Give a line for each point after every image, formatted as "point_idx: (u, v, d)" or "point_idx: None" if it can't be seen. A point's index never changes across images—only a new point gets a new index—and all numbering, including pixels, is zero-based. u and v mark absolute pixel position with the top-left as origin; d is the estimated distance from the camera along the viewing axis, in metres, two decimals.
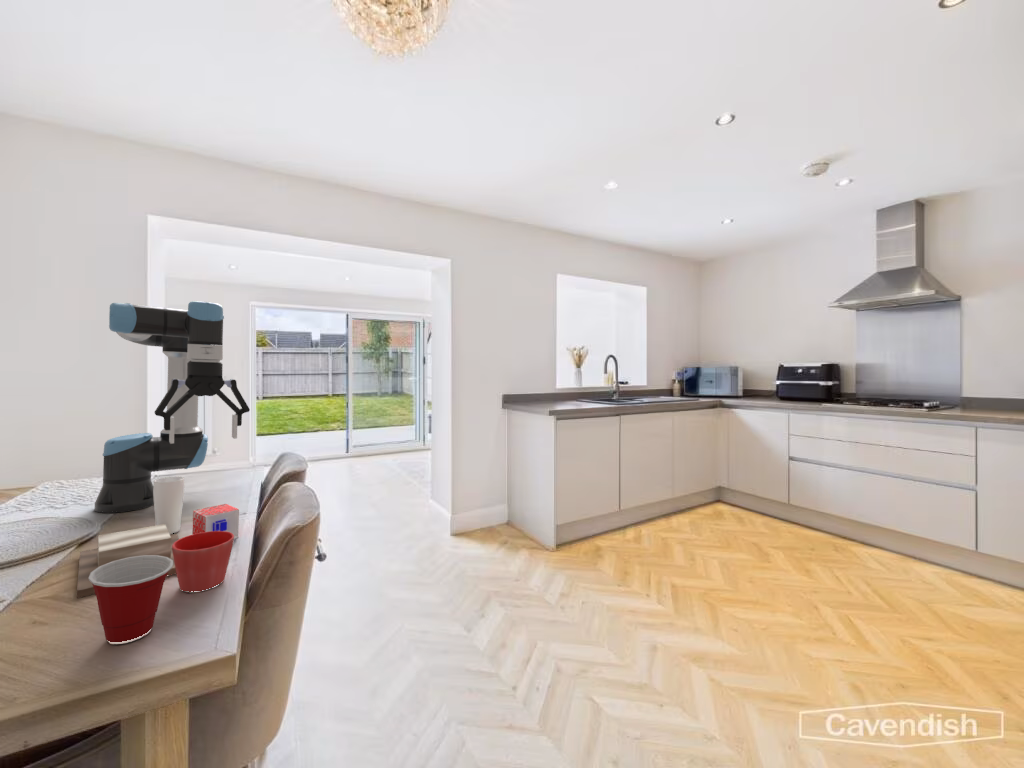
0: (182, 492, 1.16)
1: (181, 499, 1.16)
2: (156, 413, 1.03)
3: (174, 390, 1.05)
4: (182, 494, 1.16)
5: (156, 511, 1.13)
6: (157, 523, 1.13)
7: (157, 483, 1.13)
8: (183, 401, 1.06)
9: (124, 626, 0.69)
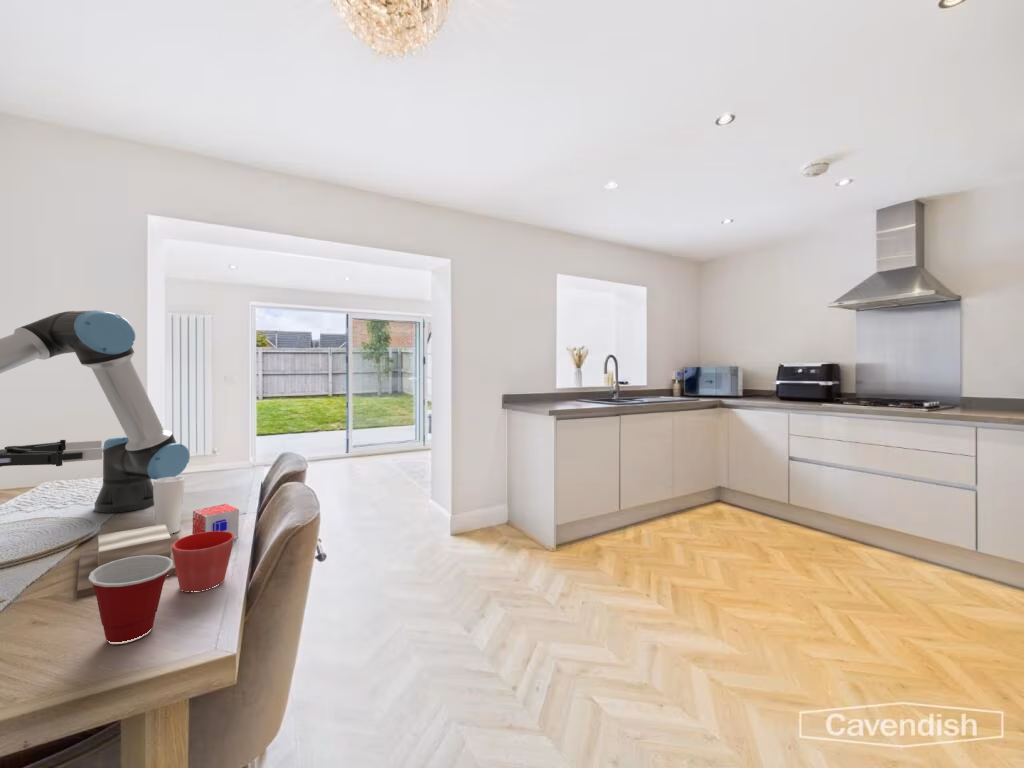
0: (182, 492, 1.16)
1: (181, 499, 1.16)
2: None
3: None
4: (182, 494, 1.16)
5: (156, 511, 1.13)
6: (157, 523, 1.13)
7: (157, 483, 1.13)
8: None
9: (124, 626, 0.69)
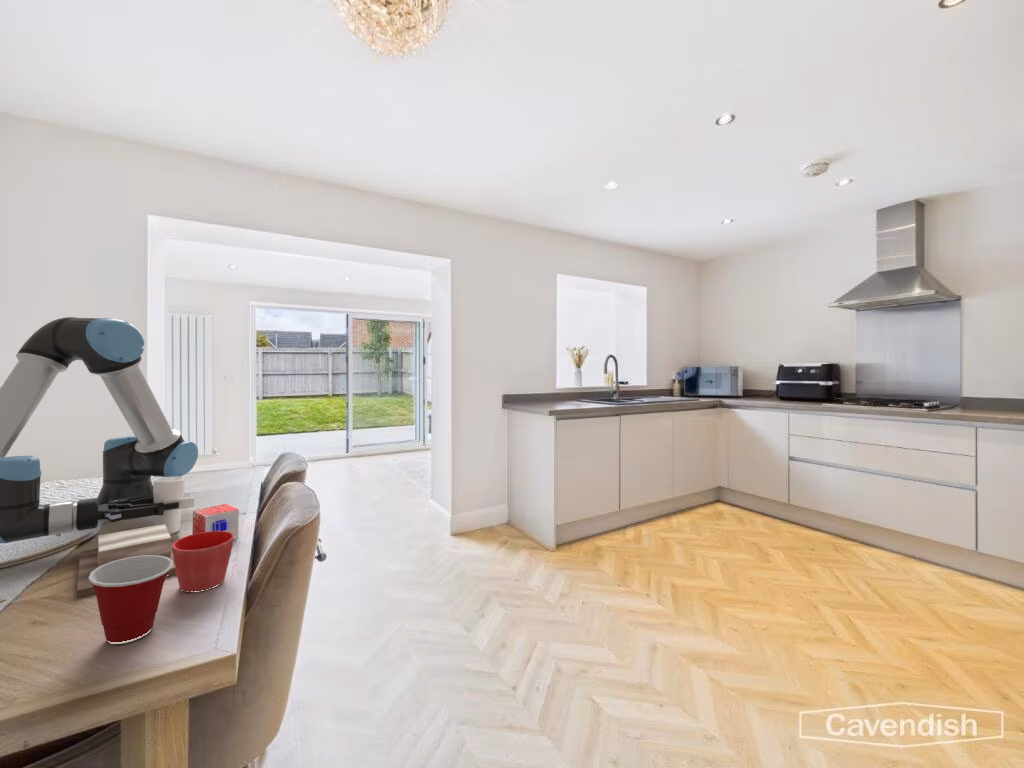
0: (182, 492, 1.16)
1: None
2: None
3: None
4: (182, 494, 1.17)
5: None
6: (157, 523, 1.13)
7: (157, 483, 1.13)
8: None
9: (124, 626, 0.69)
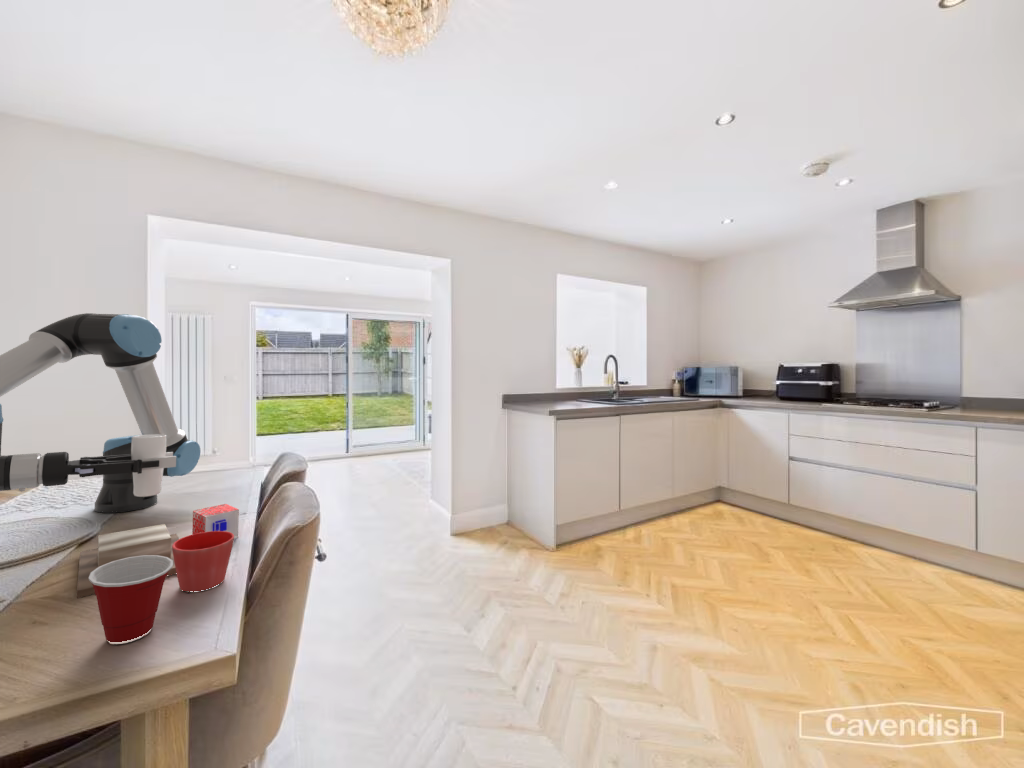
0: (163, 450, 1.06)
1: None
2: None
3: None
4: (163, 452, 1.06)
5: None
6: (135, 483, 1.03)
7: (135, 438, 1.02)
8: None
9: (124, 626, 0.69)
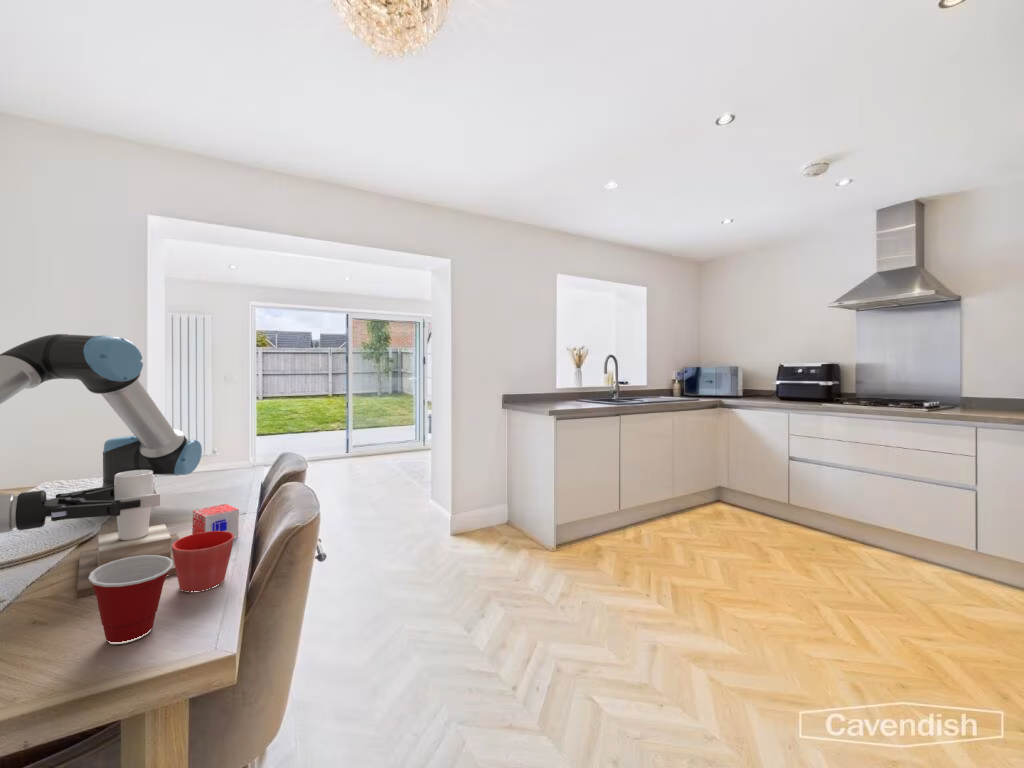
0: (150, 488, 0.97)
1: None
2: None
3: None
4: (150, 491, 0.97)
5: None
6: (119, 526, 0.94)
7: (118, 478, 0.93)
8: None
9: (124, 626, 0.69)
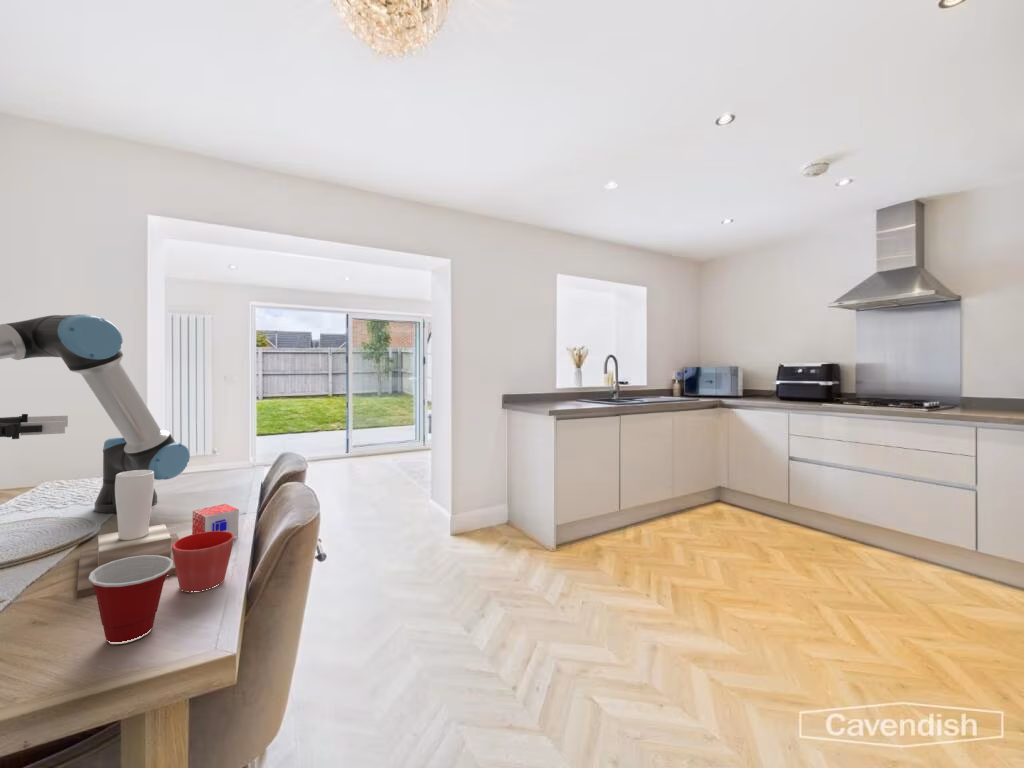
0: (151, 488, 0.97)
1: (149, 497, 0.97)
2: None
3: None
4: (151, 491, 0.97)
5: (118, 511, 0.94)
6: (120, 526, 0.94)
7: (119, 477, 0.93)
8: None
9: (124, 626, 0.69)
